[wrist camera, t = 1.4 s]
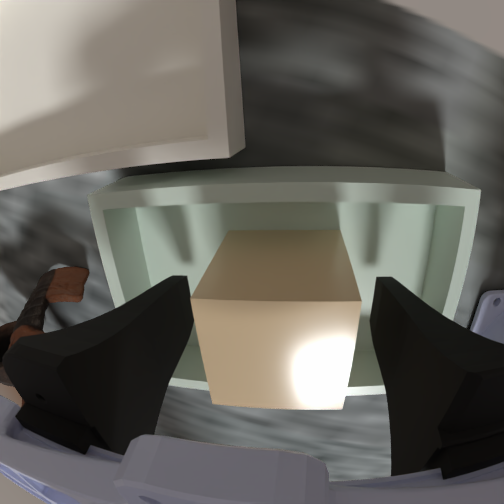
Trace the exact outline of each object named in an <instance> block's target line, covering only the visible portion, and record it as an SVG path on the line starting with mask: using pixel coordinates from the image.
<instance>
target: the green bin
mask: <svg viewBox="0 0 504 504" xmlns="http://www.w3.org/2000/svg"><path fill="white" fill-rule="evenodd" d="M480 195H481V190H480V189H478V188H476V187H474V186H473V185H471V184H469V183H467V182H465V181H463V180H461V179H459V178H457V177H455V176H453V175H451V174H449V173H447V172H441V171H429V170H416V169H400V168H380V167H350V166H274V167H244V168H223V169H207V170H192V171H179V172H168V173H157V174H147V175H138V176H129V177H124V178H122V179H120V180H118V181H116V182H113V183H111V184H109V185H107V186H105V187H103V188H101V189H99V190H96V191H94V192H92V193H90V194H88V195H87V197H88V202H89V207H90V212H91V217H92V222H93V226H94V231H95V235H96V239H97V243H98V247H99V252H100V255H101V259H102V263H103V267H104V271H105V274H106V278H107V281H108V285H109V288H110V292H111V295H112V298H113V301H114V305H115V308H117V307H119V306H121V305H123V304H124V303H126V302H128V301H130V300H131V299H133V298H135V297H137V296H138V295H140V294H142V293H143V292H145V291H146V290H148V289H150V288H151V287H153V286H154V285H156V284H158V283H159V282H161V281H163V280H164V279H166V278H168V277H170V276H172V275H185V276H187V277H188V283H189V288H190V294H191V296H192V294H193V293H194V291H195V289H196V287H197V285H198V284H199V282H200V280H201V278H202V276H203V275H204V273H205V271H206V269H207V268H208V266H209V264H210V262H211V260H212V259H213V257H214V255H215V253H216V252H217V250H218V248H219V246H220V245H221V243H222V241H223V239H224V238H225V236H226V234H227V232H228V231H229V230H341V233H342V237H343V240H344V243H345V246H346V249H347V252H348V255H349V259H350V262H351V265H352V269H353V272H354V275H355V279H356V282H357V286H358V289H359V293H360V296H361V300H362V304H361V312H360V318H359V325H358V331H357V337H356V343H355V349H354V354H353V360H352V365H351V370H350V375H349V380H348V385H347V390H346V394H345V396H352V395H373V394H386V390H385V386H384V382H383V379H382V375H381V371H380V368H379V364H378V360H377V357H376V353H375V350H374V346H373V342H372V336H371V329H370V322H369V320H370V314H371V308H372V302H373V296H374V289H375V282H376V277H390V276H391V277H393V278H395V279H396V280H397V281H399V282H400V283H401V284H402V285H404V286H405V287H406V288H407V289H409V290H410V291H411V292H412V293H414V294H415V295H416V296H417V297H419V298H420V299H421V300H423V301H424V302H425V303H427V304H428V305H429V306H431V307H432V308H433V309H435V310H436V311H438V312H439V313H441V314H442V315H444V316H445V317H447V318H448V319H450V320H452V321H453V319H454V315H455V312H456V309H457V305H458V302H459V299H460V295H461V291H462V288H463V284H464V280H465V276H466V272H467V268H468V263H469V259H470V254H471V250H472V245H473V240H474V234H475V229H476V223H477V216H478V210H479V203H480ZM169 385H170V386H177V387H185V388H192V389H201V390H209V386H208V382H207V378H206V373H205V369H204V364H203V360H202V355H201V350H200V346H199V341H198V336H197V331H196V326H195V321H194V324H193V328H192V331H191V335H190V338H189V340H188V343H187V345H186V347H185V349H184V352H183V354H182V356H181V358H180V360H179V362H178V364H177V367H176V369H175V371H174V373H173V375H172V377H171V380H170V382H169Z"/></svg>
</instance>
